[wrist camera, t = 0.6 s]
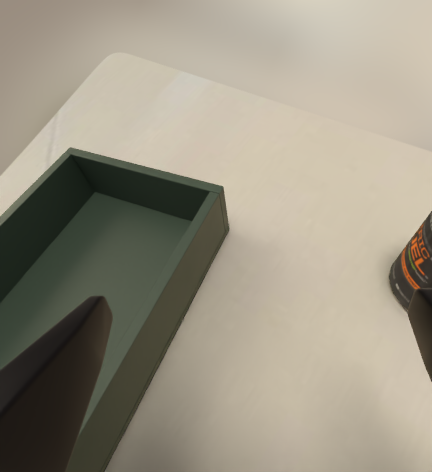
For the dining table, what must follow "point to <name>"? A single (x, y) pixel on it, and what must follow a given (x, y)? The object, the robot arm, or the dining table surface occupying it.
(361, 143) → the dining table surface
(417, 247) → the pill bottle
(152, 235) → the green storage tray
